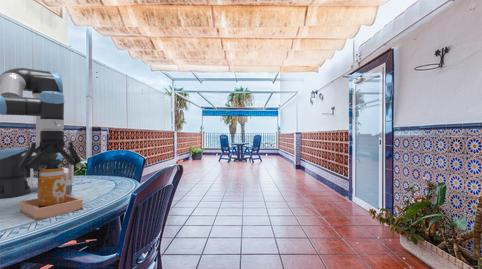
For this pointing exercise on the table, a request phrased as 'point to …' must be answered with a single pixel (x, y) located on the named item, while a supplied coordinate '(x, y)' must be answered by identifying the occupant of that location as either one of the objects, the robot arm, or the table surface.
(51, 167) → the canister
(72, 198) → the tray
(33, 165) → the robot arm
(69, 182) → the smart speaker
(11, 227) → the table surface
